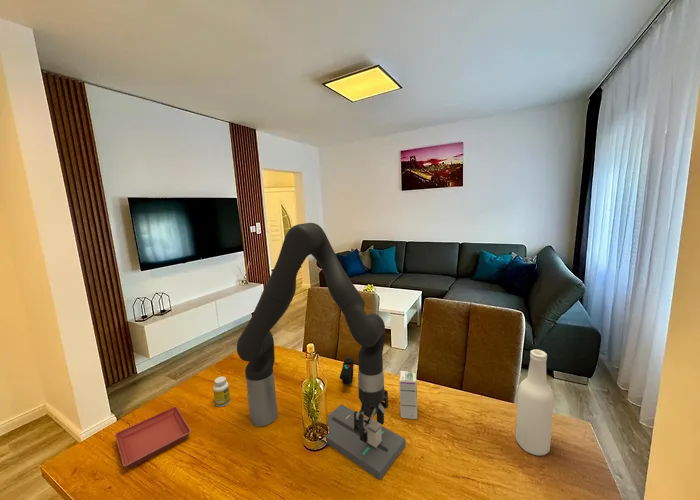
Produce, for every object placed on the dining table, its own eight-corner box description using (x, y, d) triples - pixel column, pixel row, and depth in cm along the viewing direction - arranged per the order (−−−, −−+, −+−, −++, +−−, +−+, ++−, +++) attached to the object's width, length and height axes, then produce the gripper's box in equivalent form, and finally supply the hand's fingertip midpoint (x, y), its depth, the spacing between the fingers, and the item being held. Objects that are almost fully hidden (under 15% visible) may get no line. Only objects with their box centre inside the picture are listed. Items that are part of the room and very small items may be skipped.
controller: (355, 375, 127) (354, 354, 125) (350, 394, 115) (348, 370, 113) (345, 374, 128) (344, 353, 126) (339, 393, 116) (338, 370, 114)
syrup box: (417, 419, 100) (417, 381, 98) (399, 418, 102) (399, 379, 99) (417, 408, 106) (416, 371, 103) (400, 406, 107) (399, 370, 105)
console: (313, 434, 96) (313, 427, 96) (341, 410, 107) (341, 403, 106) (380, 480, 80) (379, 471, 79) (405, 445, 90) (405, 438, 90)
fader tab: (364, 441, 89) (364, 423, 88) (370, 434, 91) (370, 417, 90) (376, 448, 86) (375, 430, 85) (381, 441, 89) (381, 423, 88)
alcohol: (545, 436, 91) (552, 346, 86) (554, 460, 83) (562, 362, 78) (512, 430, 94) (517, 343, 89) (518, 453, 86) (524, 358, 81)
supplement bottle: (226, 407, 111) (223, 383, 109) (212, 407, 111) (209, 384, 110) (232, 397, 117) (229, 375, 115) (219, 398, 117) (216, 375, 115)
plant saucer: (177, 413, 110) (175, 405, 109) (193, 439, 97) (191, 430, 97) (116, 442, 97) (114, 433, 97) (125, 477, 85) (123, 467, 84)
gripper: (374, 367, 93) (375, 412, 96) (345, 390, 83) (347, 441, 85) (395, 375, 89) (395, 423, 91) (367, 401, 78) (368, 454, 81)
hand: (372, 431), depth 88 cm, fingers open, 8 cm apart
